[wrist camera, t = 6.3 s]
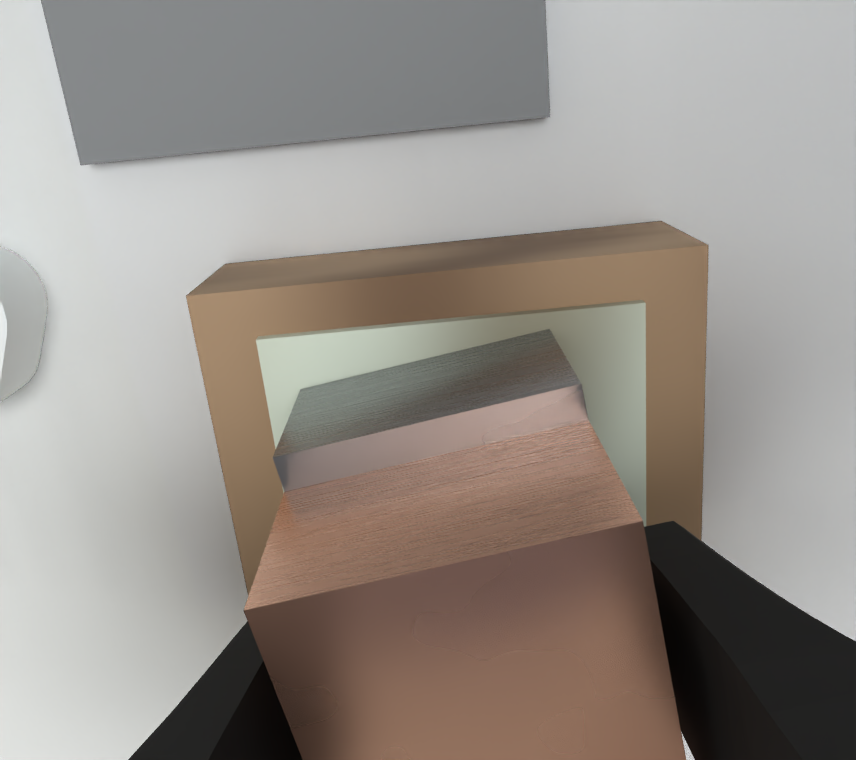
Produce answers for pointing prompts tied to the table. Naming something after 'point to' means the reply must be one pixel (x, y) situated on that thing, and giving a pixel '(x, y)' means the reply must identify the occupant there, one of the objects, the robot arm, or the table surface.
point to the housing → (460, 571)
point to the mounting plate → (19, 321)
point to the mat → (289, 70)
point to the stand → (466, 346)
